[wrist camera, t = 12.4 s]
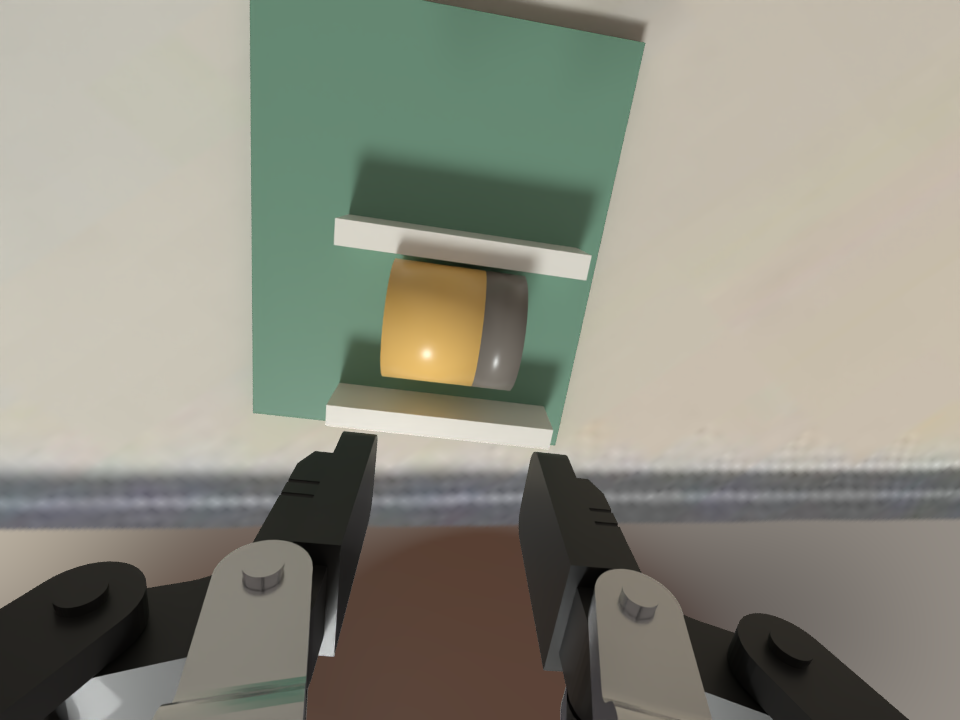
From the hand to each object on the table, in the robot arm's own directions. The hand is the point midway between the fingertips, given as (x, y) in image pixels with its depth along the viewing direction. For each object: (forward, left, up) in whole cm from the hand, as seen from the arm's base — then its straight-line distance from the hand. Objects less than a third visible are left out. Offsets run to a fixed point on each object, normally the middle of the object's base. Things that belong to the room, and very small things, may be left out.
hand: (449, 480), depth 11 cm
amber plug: (0, 0, -12) cm, 12 cm away
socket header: (0, 0, -13) cm, 13 cm away
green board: (-3, -2, -13) cm, 14 cm away
